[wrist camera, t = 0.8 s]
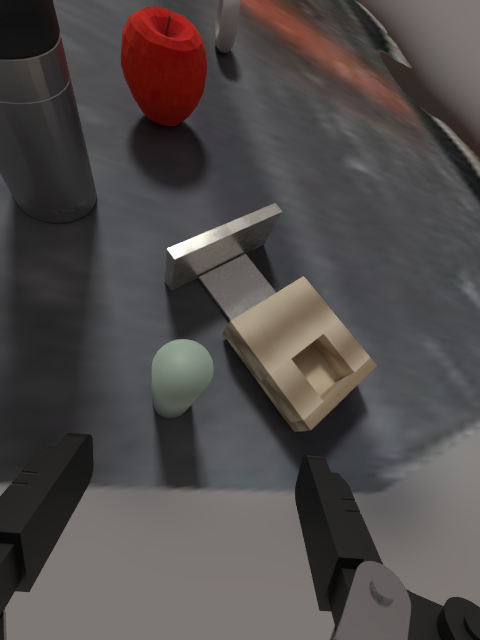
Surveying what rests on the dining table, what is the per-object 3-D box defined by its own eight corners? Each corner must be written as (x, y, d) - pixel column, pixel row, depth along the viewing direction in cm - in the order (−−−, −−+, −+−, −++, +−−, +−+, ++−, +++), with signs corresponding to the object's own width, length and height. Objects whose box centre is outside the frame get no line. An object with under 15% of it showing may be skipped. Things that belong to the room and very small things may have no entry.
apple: (141, 149, 44) (136, 40, 32) (114, 97, 47) (100, -20, 35) (209, 142, 49) (228, 45, 37) (181, 95, 52) (190, -9, 40)
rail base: (164, 282, 37) (166, 248, 30) (257, 237, 44) (275, 203, 37) (284, 451, 32) (315, 452, 26) (366, 372, 39) (406, 358, 33)
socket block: (222, 333, 35) (230, 320, 32) (290, 291, 40) (303, 276, 37) (294, 431, 33) (310, 430, 29) (356, 373, 38) (377, 365, 35)
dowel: (145, 394, 31) (139, 359, 18) (177, 373, 33) (191, 328, 20) (165, 426, 30) (173, 412, 18) (197, 403, 32) (224, 376, 20)
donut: (231, 65, 60) (245, 0, 51) (215, 61, 59) (226, -7, 50) (227, 38, 64) (239, -27, 55) (212, 34, 63) (221, -34, 54)
